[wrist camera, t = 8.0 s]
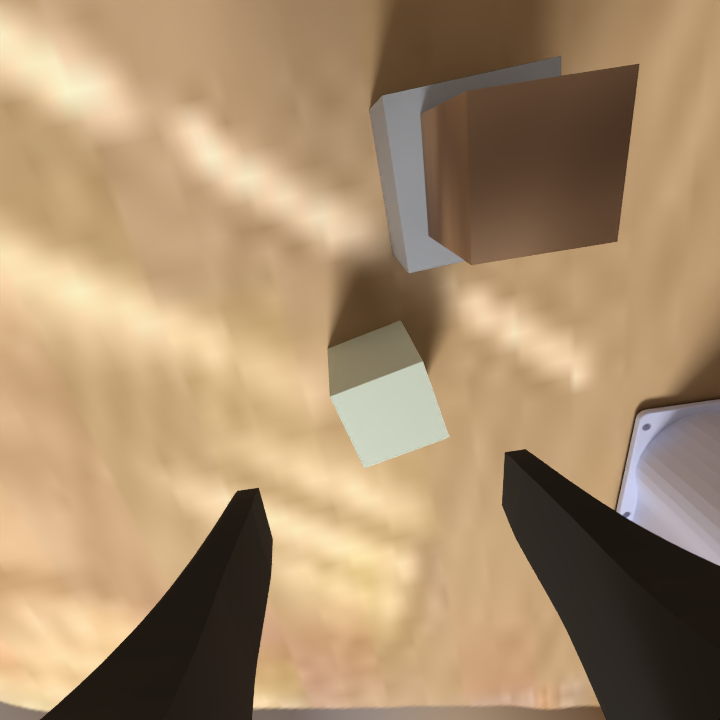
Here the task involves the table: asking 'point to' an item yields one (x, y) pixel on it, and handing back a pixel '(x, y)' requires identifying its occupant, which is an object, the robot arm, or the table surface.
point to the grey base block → (405, 157)
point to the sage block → (384, 394)
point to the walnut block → (529, 165)
